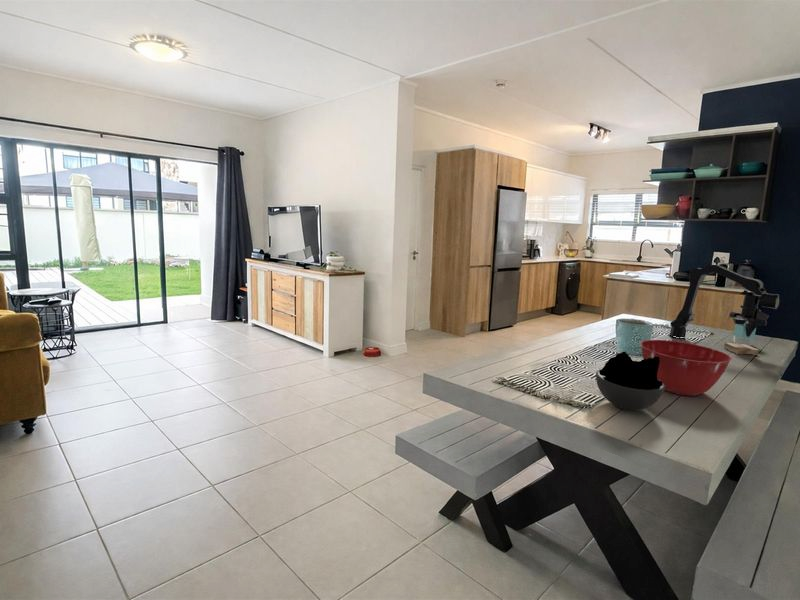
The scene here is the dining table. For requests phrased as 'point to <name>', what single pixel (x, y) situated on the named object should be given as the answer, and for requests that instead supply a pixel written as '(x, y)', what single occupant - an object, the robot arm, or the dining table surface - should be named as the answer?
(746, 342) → the skincare box
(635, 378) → the coal bowl
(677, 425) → the dining table surface
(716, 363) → the mixing bowl
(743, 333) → the teal block
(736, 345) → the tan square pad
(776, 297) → the robot arm
